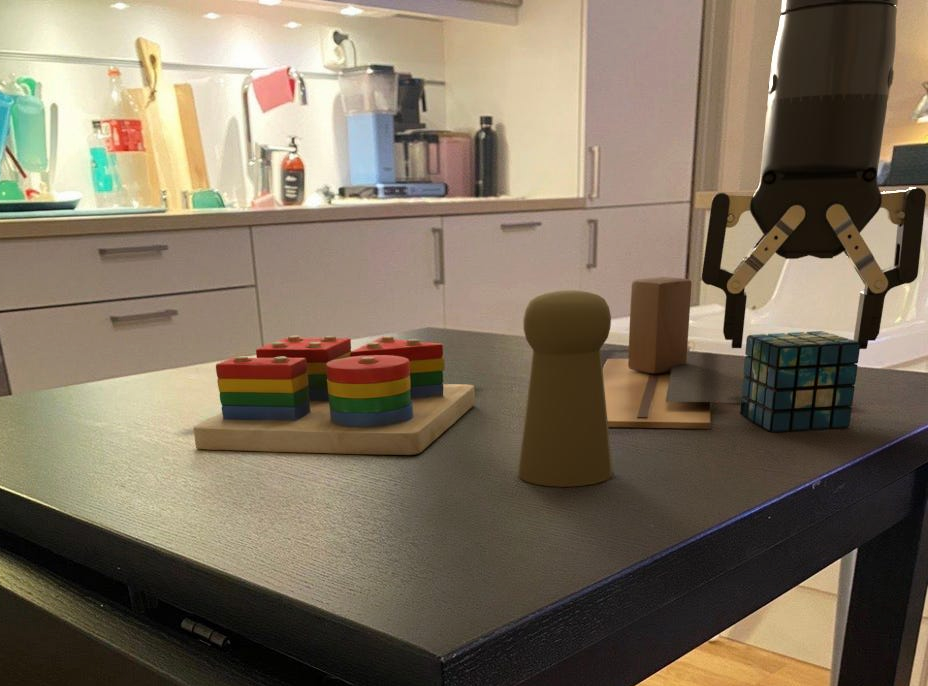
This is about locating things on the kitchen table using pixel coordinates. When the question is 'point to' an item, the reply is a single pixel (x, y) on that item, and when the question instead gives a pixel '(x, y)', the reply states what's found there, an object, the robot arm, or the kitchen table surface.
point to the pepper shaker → (566, 391)
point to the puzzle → (799, 380)
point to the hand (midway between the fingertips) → (796, 347)
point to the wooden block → (658, 324)
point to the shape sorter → (335, 398)
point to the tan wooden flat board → (647, 400)
